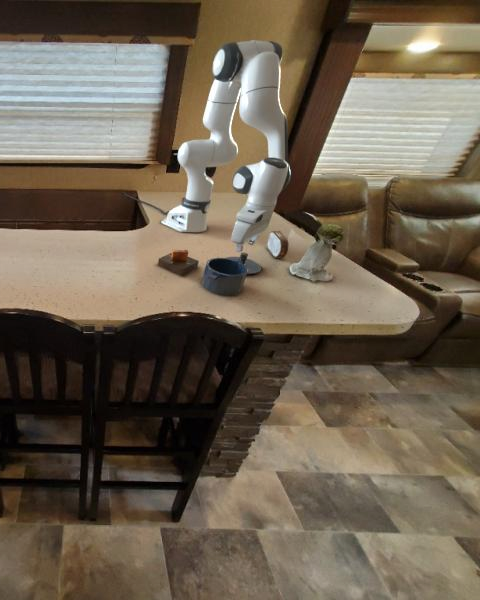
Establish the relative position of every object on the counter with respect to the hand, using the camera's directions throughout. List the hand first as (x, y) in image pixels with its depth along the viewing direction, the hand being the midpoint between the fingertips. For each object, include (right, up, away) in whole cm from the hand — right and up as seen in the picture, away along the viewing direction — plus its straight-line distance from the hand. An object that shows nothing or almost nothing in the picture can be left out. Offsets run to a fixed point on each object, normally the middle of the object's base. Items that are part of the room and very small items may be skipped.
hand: (245, 247), depth 108 cm
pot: (-12, -14, -7) cm, 20 cm away
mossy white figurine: (+23, -10, -1) cm, 25 cm away
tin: (+19, 0, +13) cm, 23 cm away
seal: (-24, -4, +3) cm, 24 cm away
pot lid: (0, -6, +3) cm, 7 cm away
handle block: (-24, -6, +5) cm, 25 cm away
